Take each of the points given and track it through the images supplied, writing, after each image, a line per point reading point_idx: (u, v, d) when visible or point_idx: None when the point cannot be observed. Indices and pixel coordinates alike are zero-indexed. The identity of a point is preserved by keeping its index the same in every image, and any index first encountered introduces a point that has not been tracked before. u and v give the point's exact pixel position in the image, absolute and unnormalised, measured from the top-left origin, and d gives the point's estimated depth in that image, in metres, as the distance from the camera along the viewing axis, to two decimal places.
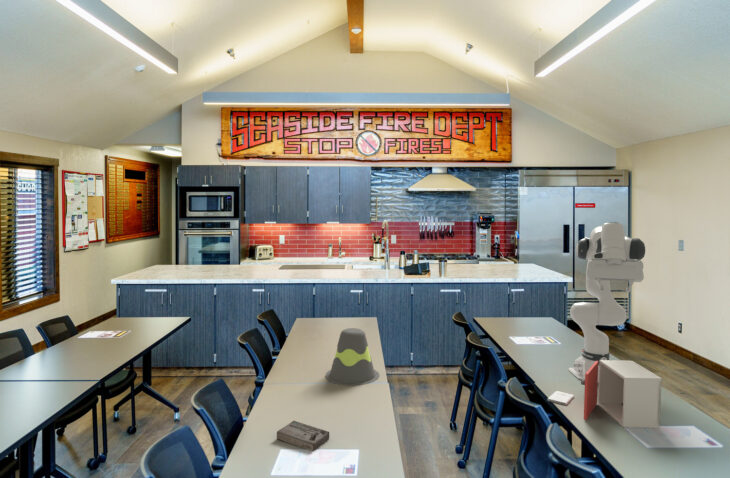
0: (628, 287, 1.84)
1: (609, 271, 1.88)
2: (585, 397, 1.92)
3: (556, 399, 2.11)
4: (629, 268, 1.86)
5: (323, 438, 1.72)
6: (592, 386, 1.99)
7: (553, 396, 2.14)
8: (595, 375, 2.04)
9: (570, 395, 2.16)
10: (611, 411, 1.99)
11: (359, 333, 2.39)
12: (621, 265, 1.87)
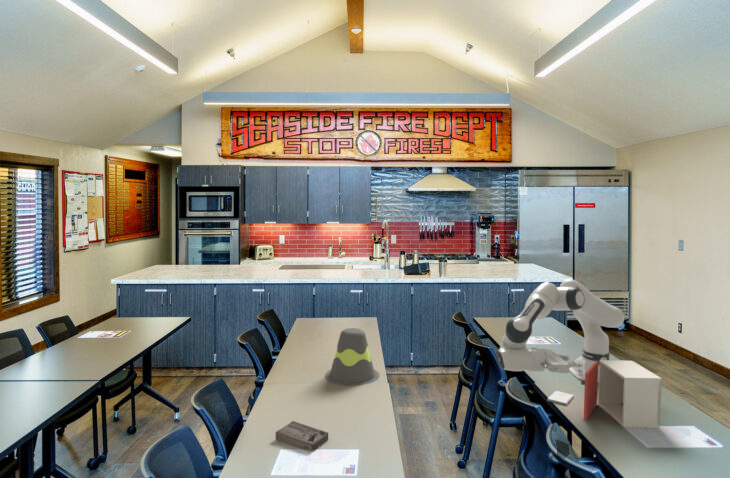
0: None
1: None
2: (585, 397, 1.92)
3: (556, 399, 2.11)
4: None
5: (322, 439, 1.72)
6: (592, 386, 1.99)
7: (553, 396, 2.14)
8: (595, 375, 2.04)
9: (570, 395, 2.16)
10: (611, 411, 1.99)
11: (359, 333, 2.39)
12: None
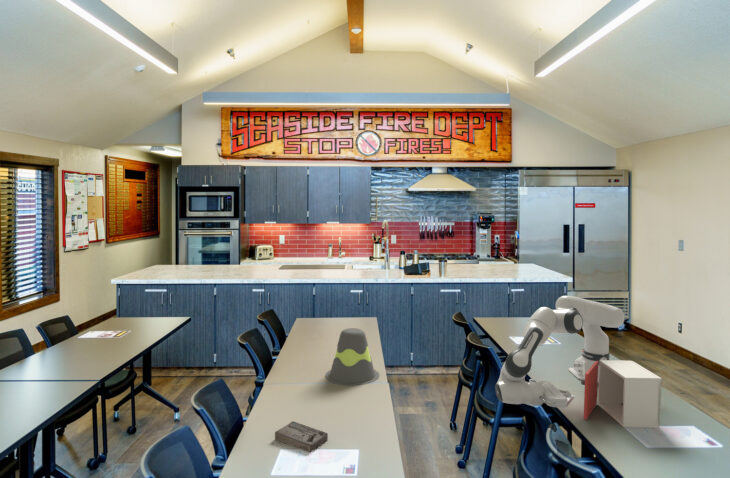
0: None
1: None
2: (585, 397, 1.92)
3: None
4: None
5: (321, 439, 1.72)
6: (592, 386, 1.99)
7: None
8: (595, 375, 2.04)
9: None
10: (611, 411, 1.99)
11: (359, 333, 2.39)
12: None
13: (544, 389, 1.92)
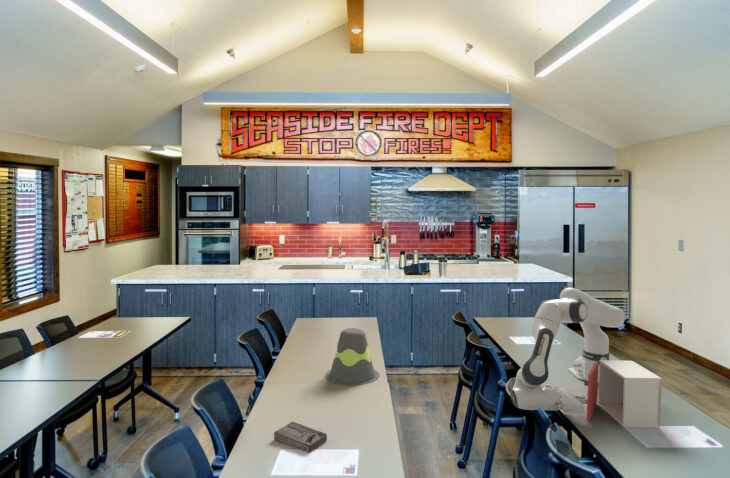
0: None
1: None
2: (588, 398, 1.91)
3: None
4: None
5: (320, 440, 1.71)
6: (594, 386, 1.99)
7: None
8: (596, 375, 2.03)
9: None
10: (611, 411, 1.99)
11: (359, 333, 2.39)
12: None
13: (560, 395, 1.93)
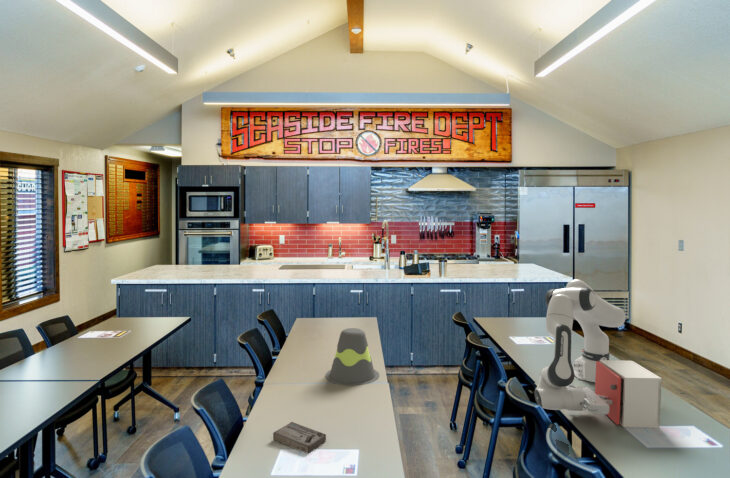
0: None
1: None
2: (618, 402, 1.87)
3: None
4: None
5: (319, 440, 1.71)
6: None
7: None
8: None
9: None
10: None
11: (359, 333, 2.39)
12: None
13: (584, 395, 1.92)
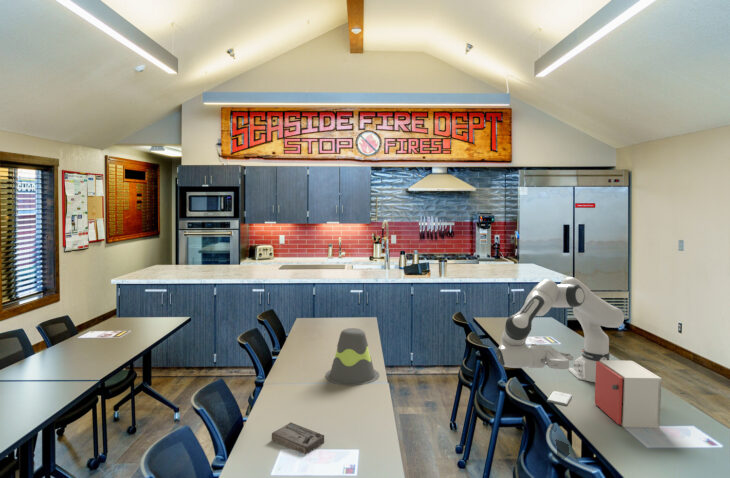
0: None
1: None
2: (620, 402, 1.87)
3: (556, 400, 2.11)
4: None
5: (317, 441, 1.70)
6: None
7: (552, 397, 2.14)
8: None
9: (568, 395, 2.17)
10: None
11: (359, 333, 2.39)
12: None
13: (545, 352, 1.92)
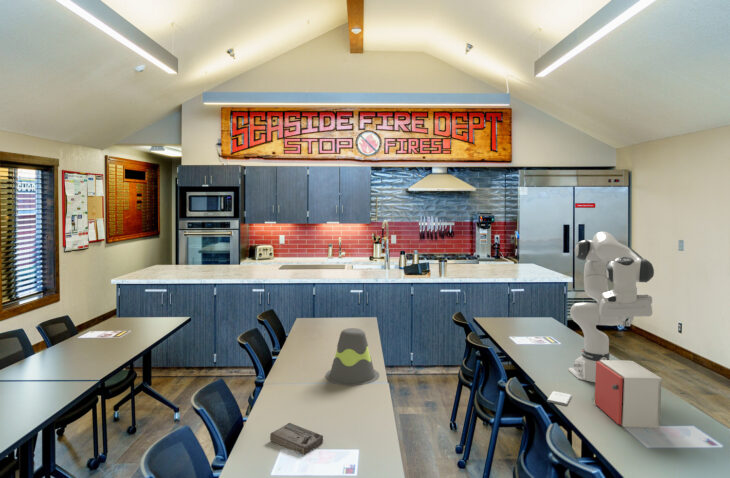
0: (628, 323, 2.03)
1: (621, 311, 2.02)
2: (620, 402, 1.87)
3: (556, 400, 2.11)
4: (640, 306, 2.00)
5: (316, 442, 1.70)
6: None
7: (552, 397, 2.14)
8: None
9: (568, 395, 2.17)
10: None
11: (359, 333, 2.39)
12: (632, 304, 2.00)
13: None
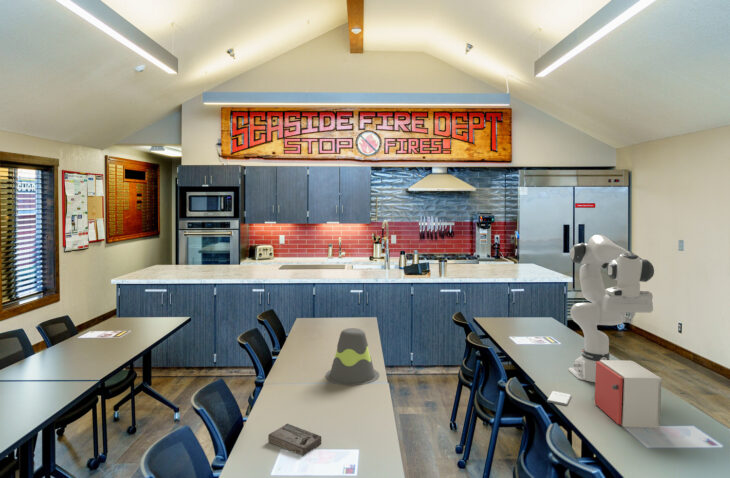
0: (630, 319, 2.05)
1: (625, 306, 2.04)
2: (620, 402, 1.87)
3: (556, 400, 2.11)
4: (642, 302, 2.04)
5: (314, 442, 1.69)
6: None
7: (552, 397, 2.14)
8: None
9: (567, 395, 2.17)
10: None
11: (359, 333, 2.39)
12: (635, 300, 2.04)
13: None
